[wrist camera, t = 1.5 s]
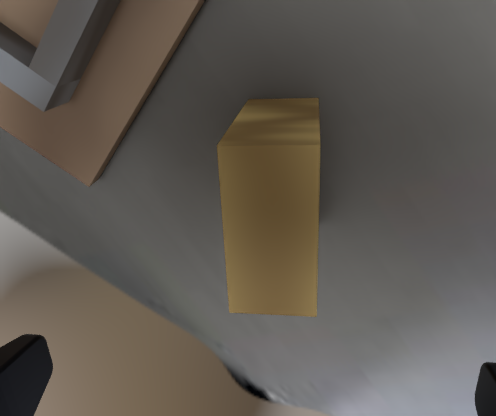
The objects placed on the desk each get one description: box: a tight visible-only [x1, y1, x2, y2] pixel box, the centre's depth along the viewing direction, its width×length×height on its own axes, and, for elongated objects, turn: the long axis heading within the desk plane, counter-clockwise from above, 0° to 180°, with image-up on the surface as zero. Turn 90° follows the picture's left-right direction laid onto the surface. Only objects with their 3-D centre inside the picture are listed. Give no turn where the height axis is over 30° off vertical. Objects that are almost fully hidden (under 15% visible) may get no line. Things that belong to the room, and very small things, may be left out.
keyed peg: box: [217, 98, 321, 317], centre depth 17 cm, size 3×6×7 cm, turn 3°
